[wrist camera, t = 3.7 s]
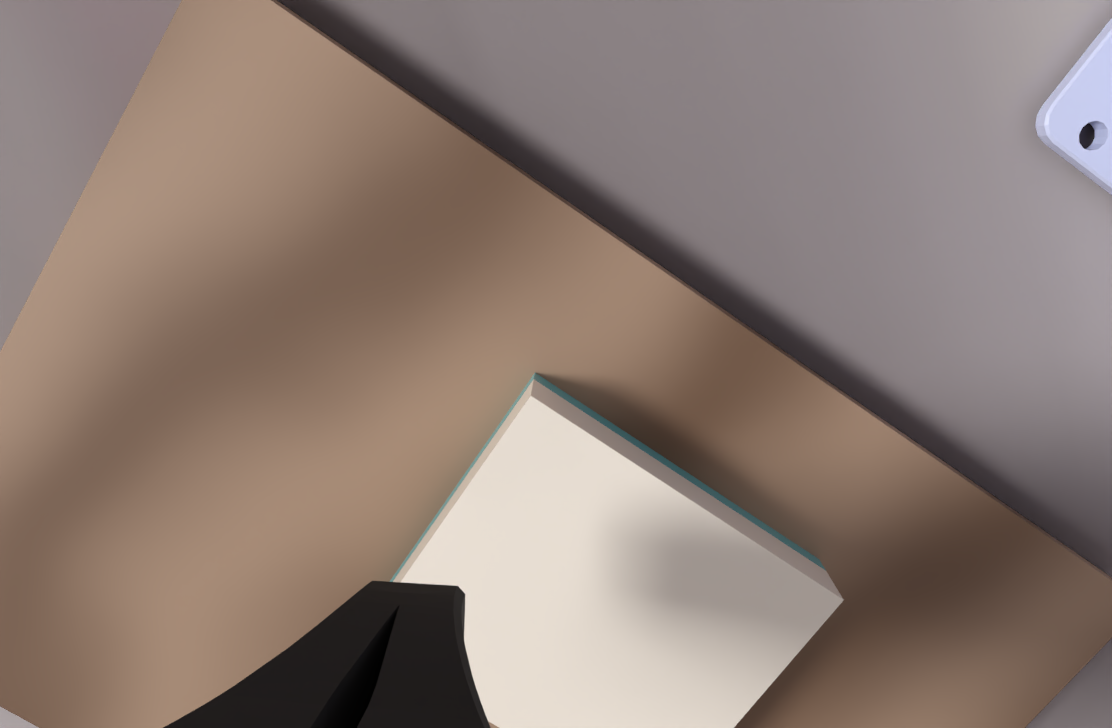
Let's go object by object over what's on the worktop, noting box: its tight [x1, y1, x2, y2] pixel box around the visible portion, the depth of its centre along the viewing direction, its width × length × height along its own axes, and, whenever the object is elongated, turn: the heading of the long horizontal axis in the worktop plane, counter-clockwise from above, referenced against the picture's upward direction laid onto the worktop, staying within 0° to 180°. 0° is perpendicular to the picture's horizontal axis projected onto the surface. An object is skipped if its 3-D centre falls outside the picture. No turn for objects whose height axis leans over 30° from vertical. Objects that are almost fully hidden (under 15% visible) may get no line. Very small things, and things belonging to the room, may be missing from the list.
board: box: [0, 0, 1112, 728], centre depth 18 cm, size 22×16×1 cm
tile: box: [390, 373, 844, 728], centre depth 16 cm, size 2×6×7 cm
